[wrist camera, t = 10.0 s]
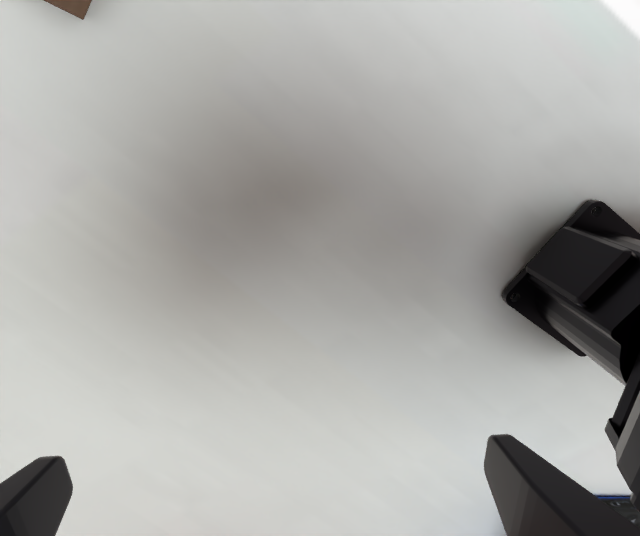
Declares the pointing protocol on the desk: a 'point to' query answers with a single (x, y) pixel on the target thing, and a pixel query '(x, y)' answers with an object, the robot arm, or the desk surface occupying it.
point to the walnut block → (72, 6)
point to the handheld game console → (623, 508)
